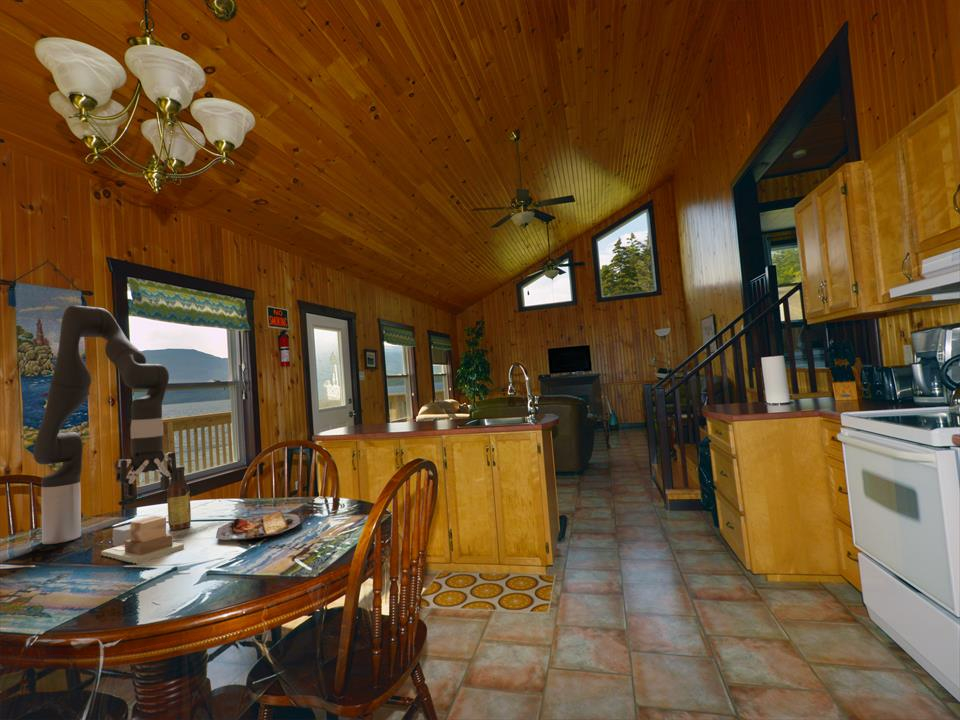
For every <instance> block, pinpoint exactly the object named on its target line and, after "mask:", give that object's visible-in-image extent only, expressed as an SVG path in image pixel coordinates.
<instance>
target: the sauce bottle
mask: <svg viewBox="0 0 960 720" xmlns="http://www.w3.org/2000/svg"><path fill="white" fill-rule="evenodd" d="M185 468H186V467H185V466H184V465H176V470H177V471H176V473H173V474H171V475H170V483H169V487H168V489H167V490H166V491H167V499H166V500H167V516H168V517H167V518H168V519H167V520H168V526H169V527H168V529H169V530H170V531H177V530H183V529H187V528H189V527H190V526H191V520H192V515H191V514H192V513H191V512H192V511H191V496H190V495H191V492H190V487H189V486H188V483H187V480H186V478H185V470H186V469H185Z"/></svg>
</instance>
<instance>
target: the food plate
mask: <svg viewBox="0 0 960 720" xmlns="http://www.w3.org/2000/svg"><path fill="white" fill-rule="evenodd" d="M300 524H301V518H300V516H299V515H297V514H295V513H285V512H283V513H282V511H281V510H280V509H279V510H277V511H274V512H272V513H265V514H257V515H252V516H247V517H244V518H240V517H237V518H235V519H234V520H232V521H230V522H228V523H226V524H223V525H221V526H220V527H218V528H217V531H216V533H215V535H216V536H215V538H216V539H219V540H222V541H226V540H227V541H228V540H229V541H230V540H231V541H235V540H236V541H237V540H239V541H242V540H243V541H249V540H257V539H262V538H267V537H270V536H276V535H281V534H284V533H285V532H286V531H289V530H290V529H293V528H295V527H296V526H298V525H300ZM262 534H263V535H262ZM242 537H243V538H242Z"/></svg>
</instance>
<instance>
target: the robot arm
mask: <svg viewBox="0 0 960 720" xmlns="http://www.w3.org/2000/svg"><path fill="white" fill-rule="evenodd" d="M116 320H117V319H115V317H114V316H113V315H112V314H111V312H110V311H108V310H107V309H105V308H102V307H95V306H87V305H86V306H85V305H70V306H68V307H66V309H65V310H64V313H63V315H62V319H61V326H60V333H59V343H58V351H57V357H56V362H55V365H54V370H53V374H52V377H51V381H50V386H49V390H48V396H47V402H46V406H45V410H44V414H43V418H42V421H41V424H40V426H39V430H38V431H37V434H36V438H35V441H34V446H33V459H34V460H35V462H36V463H37V464H39V465H51V464H59V463H61V466H60V467H59V468H58V469H57V470H55V471H54V472H51V473H49V474H47V475H44V476H43V477H42V478H41V483H40V484H41V490H40V491H41V544H43V545H54V544H60V543H61V544H62V543H65V542H69V541H72V540H76V539H79V538H80V537H81V536H82V505H81V504H82V500H81V498H82V497H81V496H82V495H81V493H82V492H81V477H82V471H83V451H84V449H83V447H84V446H83V445H84V444H83V439H82V436H81V435H80V434H79V433H78V432H77V431H76V432H75V431H70V432H69V431H68V432H60V430H61V428H62V426H63V425H64V423H65V422H66V421H67V420H68V419H69V418H70V416H72V415H73V414H74V413H75V412H76V411H78V409H80V407H81V406H82V405H83V404H84V403H85V401H86V400H87V398H88V395H89V392H90V388H91V384H92V375H91V372H90V371H89V368H88V367H87V364H86V363H85V362H84V360H83V358H82V357H81V356H82V355H81V354H80V340H81V337H82V338H83V337H84V338H102V339H104V340H105V341H106V343H105V347H104V351H105V355H106V357H107V358H108V359H109V361H110V362H111V363H113V365H114V366H115V367H116V369H118V370H119V373H120V375H121V379H122V382H123V384H124V385H125V386H126V387H128V388H130V389H132V390H147V391H146V392H147V393H146V394H145V395H144V396H142V397H137V398H134V399H133V400H132V401H131V408H130V409H131V411H130V413H131V420H130V421H131V422H130V454H131V456H130V458H129V459H118V460H117V461H116V462H117V463H116V473H115V474H116V475H115V476H116V478H115V480H116V482H117V483H121V484H124V494H125V497H127V498H129V499H130V498H134V497H135V483H134V482H135V480H136V479H137V478H138V477H139V476H140V475H141V474H143V473H148V472H154V471H156V472H157V473H158V474H159V475H160V490H161V491H167V490H168V487H169V485H170V477H171V474H173V473H176V471H177V470H176V466H177V460H176V453H175V452H170V451H169V452H166V453H164V424H163V409H162V408H163V401H164V397H165V394H166V391H167V388H168V384H169V381H170V380H169V379H170V374H169V371H168V369H167V368H166V367H165V366H164V365H162V364H160V363H147V359H146V356H145V355H144V354H143V352H142V351H140V350H139V349H138V348H137V347H136V346H135V345H134V344H132V342H131V341H130V340H129V339H128V338H127V335H125V333H124V332H123V330H122V328H121V327H120V325H119V323H118V322H117V321H116ZM164 460H165V461H166V466H165V465H164V464H163V463H162V462H163V461H164ZM129 465H131V466H132V467H131V469H130V470H129V471H128V473H127V470H128V468H129V467H130V466H129Z"/></svg>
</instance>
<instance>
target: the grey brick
mask: <svg viewBox="0 0 960 720" xmlns="http://www.w3.org/2000/svg"><path fill="white" fill-rule="evenodd" d="M129 539H131V534H130V524H126V525H122V526H118V527H114V528H112V546H113V547H117V546H120V545H124V544H125V541H126V540H129Z"/></svg>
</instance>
